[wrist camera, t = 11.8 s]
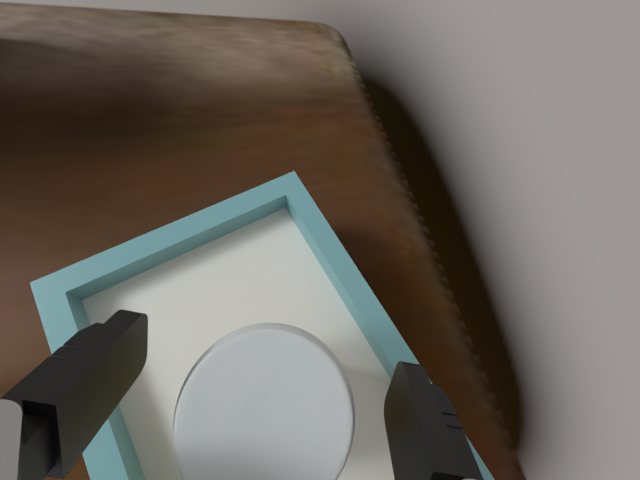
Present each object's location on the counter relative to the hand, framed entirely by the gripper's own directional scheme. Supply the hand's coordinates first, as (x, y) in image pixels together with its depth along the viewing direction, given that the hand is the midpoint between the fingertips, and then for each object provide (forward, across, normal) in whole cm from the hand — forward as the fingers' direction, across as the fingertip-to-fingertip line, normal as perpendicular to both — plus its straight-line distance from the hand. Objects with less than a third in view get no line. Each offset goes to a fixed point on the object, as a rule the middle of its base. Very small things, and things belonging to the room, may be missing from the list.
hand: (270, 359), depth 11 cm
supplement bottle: (+4, 0, +6) cm, 7 cm away
